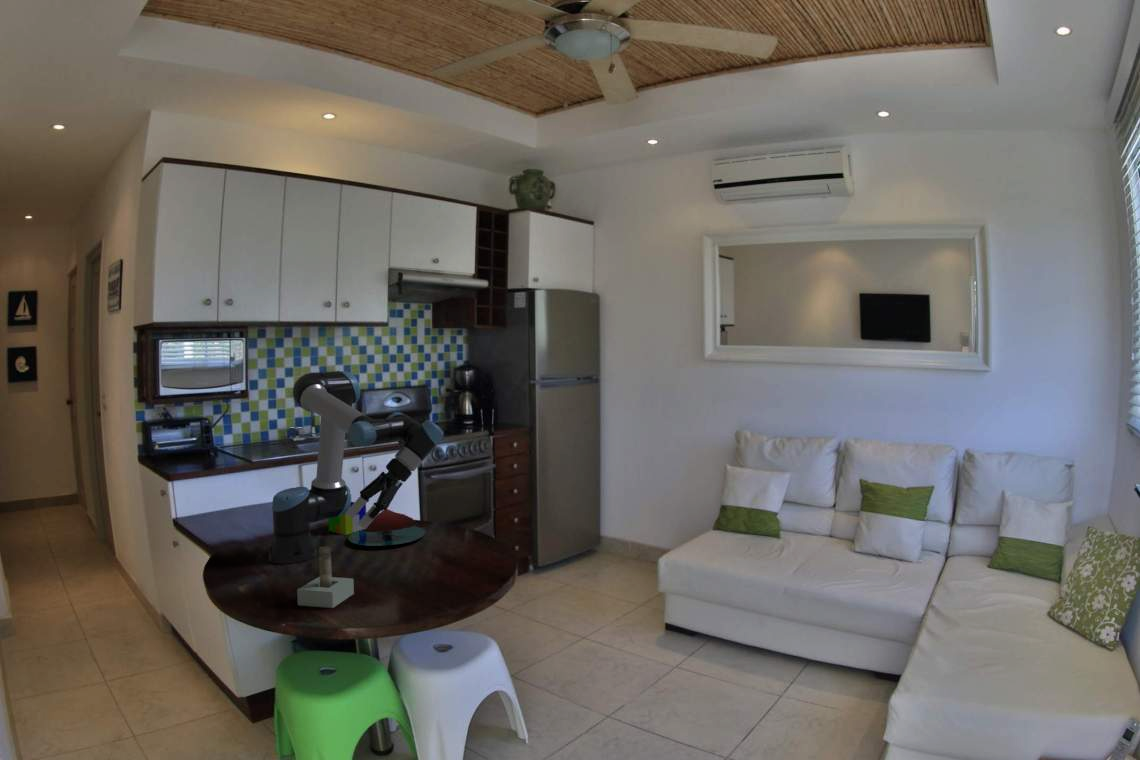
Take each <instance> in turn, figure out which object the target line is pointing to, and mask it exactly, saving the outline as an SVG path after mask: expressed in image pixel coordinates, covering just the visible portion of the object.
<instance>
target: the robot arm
mask: <svg viewBox="0 0 1140 760" xmlns="http://www.w3.org/2000/svg"><path fill="white" fill-rule="evenodd" d="M292 387H293V388H292V398H293V400H294V402H295V404H297V406H298V407H300V408H301V409H303V410H304V411H306V412H309V413H315V414H316V415H318V416H320V422H319V424H320V425H319V426H320V427H319V437H318V438H319V439H318V450H317V464H316V465H317V466H316V476H315V478H314V479H312V480H311V485H310V489H309V488H308V487H306V486H296V487H291V488H286V489H283V490H281V491H278V492H277V493H276V494H274V496H273V497H272V505H271V506H272V508H271V510H272V518H273V519H272V520H273V521H272V523H273V524H272V525H273V539H272V543H271V546H270V550H269V552H268V553H269V554H268V560H269V562H270V563H273V564H278V565H285V564H286V565H287V564H296V563H300V562H302V563H303V562H306V561H308V560H311V559H313V558H315V557H316V556H317V548H316V547H317V546H316V545H315V543H314V540H313V537H312V534H311V524H313V523H317V522H321V521H325V520H329V519H331V518H332V519H333V518H336V517H338V516H341V515H343V514H346V515H348V516H349V517H350V518H351V519H353V518H354V517H355V516H356V514H357V513H358V512H359V511H360V510H361V509H362V507H363V506H364V505H365V504H366V505H367V503H369V501H370V499H371V498H373V497H375V496H376V495H377V494H378V493H380V494H379V496H378V498H377V500H376V501H375V502H374V503H373V505H372V506H371V507H370V508H369V510H368V511H366V514H365V515H364V516H363V518H362V519H361V520H360V521H359V522H358V524H359V525H360V526H362V527H363V528H364V529H366V528H367V527H368V526H369V524H370V523H371V522H372V521H373V520H374V519H375V517H376V516H377V515H378V514H379V513H381V512H382V511H383V510H387V509H389V507H390V505H391V504H392V503H391V502H393V500H394V498H395V496H396V494H397V492H398V491H399V489H400V488H401V487H402V486H403V483H405V482H407V480H408V479H409V478H410V477H411V476H412V472H415V471H416V470H417V468H420V467H421V464H422V462H423V461H425V459H426V458H427V456H429V454H430V453H431V452H432V451H433V449H435V448H436V446H438V444H439V442H441V440H442V439H443V438H444V431H443V430H442V429H441V428H440V427H439V425H437V424H436V423H435V422H433V421H432V420H429V419H426V420H425V421H424V422H422V423H419V422H418V421H416V420H415V419H413V418H411V416H408V415H407V414H405V413H402V412H399V411H396V412H395V411H394V412H393V413H391V414H389V415H388V416H387V418H382V419H381V418H379V419H373V418H371V417H370V416H367V415H366V414H364V413H363V412H361V411H359V410H358V409H356V408H354V407H353V404H356V403H357V402H359V400H360V397H361V385H360V383H359V381H358V379H357V377H356V376H355V375H354V374H353V373H352V372H349V371H343V370H341V371H340V370H334V371H333V370H332V371H322V372H321V371H320V372H319V371H318V372H315V371H313V372H308V373H305V374H303V375H302V376H300V377H299V378H297V380H296V381H295V382H294V384H293V386H292ZM346 434H348V439H349V441H350V444H352V445H353V446H354V447H365V448H367V447H371V446H376V445H381V444H382V445H383V444H389V443H396V442H402V443H404V445H403V446H402V447H401V448H400V449H399V450H398V451H397V452H396V453H395V455H394V458H391V459H390V460H389V462H388V463H387V464H386V465H385V468H386V470H387V471H388V472H387V473H386V472H385V471H382V472H381V473H380V474H379V475H378V476H377V477H375V478H374V479H373V480H372V481H371V482H370V483H369V484H367V485H366V486H365V487H364V488H363V489H362V490H360V491H359V497H358V498H357V499H356V500H355V501H354V502H355V503H354V504H353V505H352V506H351V507H350V504H351V502H352V493H351V490H350V488H349V486H348V485H347V484H346V483H347V482H346V481H345V480H344V478H342V476H343V466H344V465H343V464H344V455H345V441H346ZM349 507H350V508H349Z"/></svg>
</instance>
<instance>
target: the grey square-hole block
mask: <svg viewBox="0 0 1140 760" xmlns="http://www.w3.org/2000/svg"><path fill="white" fill-rule="evenodd" d="M354 584H355V583H354V578H349V577H335V576H332V586H331V587H329V588H325V587H320V576H318V577H316V578H314V579H313V580H311V581H309V582H307V583H306V584H304V585H303V586H301V587H299V588H297V589H296V592H297V593H296V595H297V606H304V607H314V608H315V607H318V608H325V609H326V608H329V609H333V608H335V607H337V606H338V605H339V604H341V603H342V602H344V601H345V600H347V599H348V598H349V597H351V596H353V595H354V594H355V590H354V589H355V587H354V586H355V585H354Z"/></svg>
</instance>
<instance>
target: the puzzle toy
mask: <svg viewBox="0 0 1140 760" xmlns="http://www.w3.org/2000/svg"><path fill="white" fill-rule="evenodd" d="M354 503H355V501H351V504H350V507H351V506H352V505H353V504H354ZM366 505H367V503H366V504H365V505H364V506H363V507H362V509H361V510H360V511H359V512H358V513H357V514H356V516H355V517H354V518H353V519H351V518H350V517H349V516H348V515H346V514H343V515H341V516H338V517H336V518H333V519H332V518H331V519H328V532H330V531H332V532H331V533H335V532H336V533H335V534H341V535H345V536H347V535H351V534H353V532H354V533H355V532H356V531H359V530H362V529H364V528H363V527H362V526H360V525H359V524H358V522H359V521H360V520H361V519H362V518H363V516H364V515H365V514H366V513H367V511H366V509H367V508H366V507H367V506H366ZM350 507H349V508H350Z"/></svg>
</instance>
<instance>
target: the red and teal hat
mask: <svg viewBox="0 0 1140 760" xmlns="http://www.w3.org/2000/svg"><path fill="white" fill-rule="evenodd" d="M425 535H426V531H425V530H424V529H423V528H422V527H418V526H416V524H415V520H414V518H412V517H411V516H408V515H405V514H404V513H399V512H395V511H393V510H391V509H389V508H387V510H383V511H380V513H379V514H378V515H377V516H376V517H375V519H374V520H373V521H372V522H371V523H370V524H369V526H368V527H367V528H366V529H363V530H360V531H357V532H354V533H350V534H349V535H348V541H349V542H350V543H353V544H354V545H359V546H366V547H367V546H368V547H374V546H375V547H377V546H378V547H380V546H381V547H382V546H393V545H400V544H401V545H402V544H405V543H412V542H414V541H417V540H418V539H420V538H422V537H424V536H425Z"/></svg>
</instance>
